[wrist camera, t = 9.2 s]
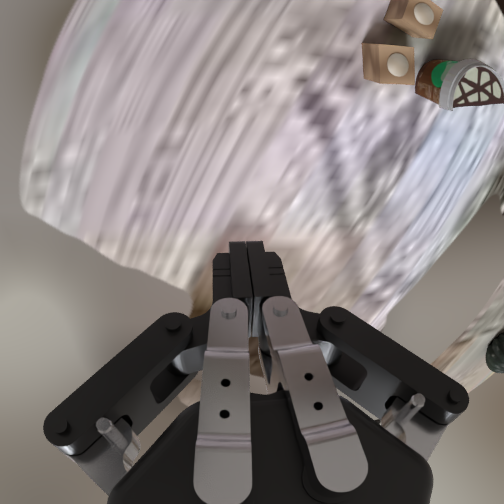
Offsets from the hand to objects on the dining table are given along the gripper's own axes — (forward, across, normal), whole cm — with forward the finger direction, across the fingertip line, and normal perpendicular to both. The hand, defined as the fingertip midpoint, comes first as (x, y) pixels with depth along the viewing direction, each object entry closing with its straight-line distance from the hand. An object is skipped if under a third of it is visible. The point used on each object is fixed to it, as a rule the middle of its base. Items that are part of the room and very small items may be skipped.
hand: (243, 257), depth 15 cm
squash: (+29, -92, +62) cm, 115 cm away
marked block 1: (+29, -23, -18) cm, 41 cm away
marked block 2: (+29, -20, -10) cm, 36 cm away
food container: (+29, -30, -10) cm, 43 cm away
